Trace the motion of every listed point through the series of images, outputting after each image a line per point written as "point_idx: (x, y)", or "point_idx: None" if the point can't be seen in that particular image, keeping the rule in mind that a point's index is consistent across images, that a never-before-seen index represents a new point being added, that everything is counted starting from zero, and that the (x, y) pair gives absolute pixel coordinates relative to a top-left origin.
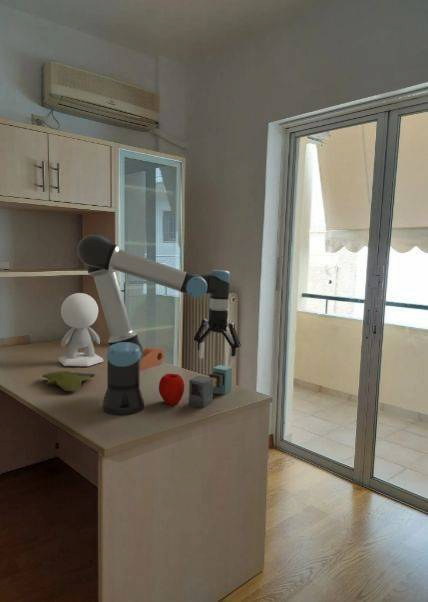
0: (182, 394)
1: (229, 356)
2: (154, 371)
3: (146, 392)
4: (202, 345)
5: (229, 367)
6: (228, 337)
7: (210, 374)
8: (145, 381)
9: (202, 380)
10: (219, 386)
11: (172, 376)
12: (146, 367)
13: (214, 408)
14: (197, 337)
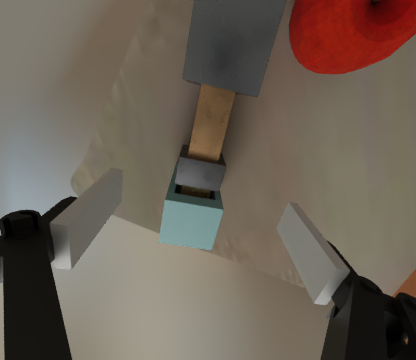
0: (291, 19)
1: (97, 190)
2: (389, 264)
3: (401, 110)
4: (316, 268)
5: (165, 236)
6: (4, 342)
7: (221, 165)
8: (408, 194)
9: (220, 12)
10: (182, 146)
11: (384, 18)
12: (412, 277)
13: (171, 46)
14: (407, 321)
